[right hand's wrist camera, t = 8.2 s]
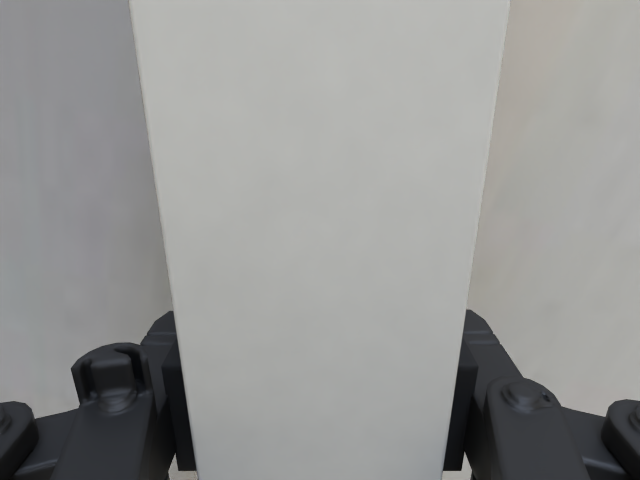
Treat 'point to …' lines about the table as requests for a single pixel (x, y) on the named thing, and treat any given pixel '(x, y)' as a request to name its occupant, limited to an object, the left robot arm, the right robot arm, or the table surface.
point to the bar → (319, 222)
